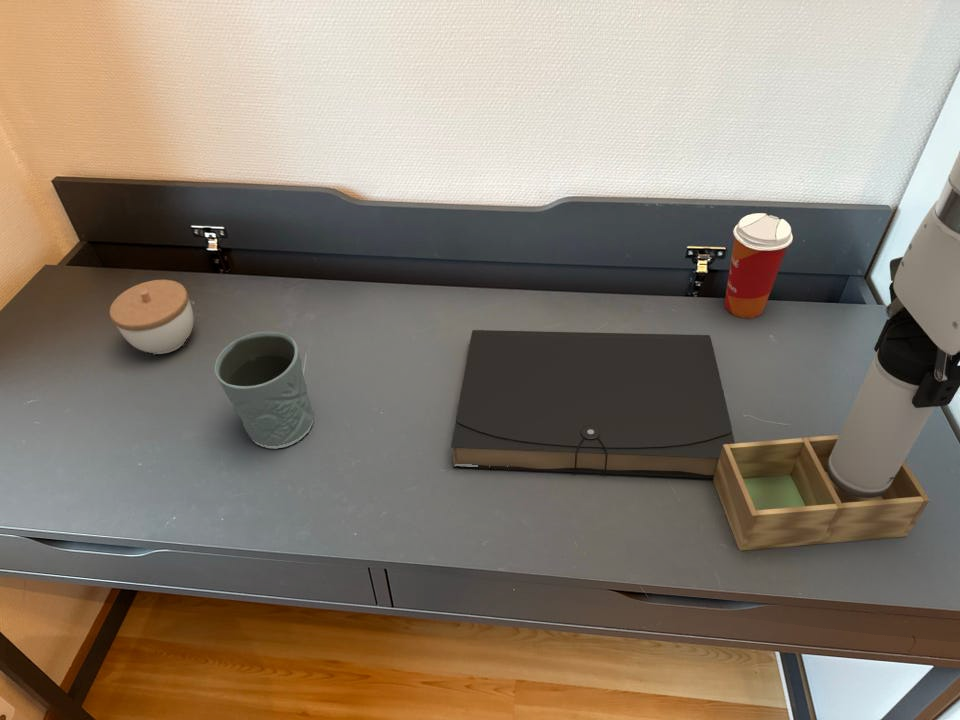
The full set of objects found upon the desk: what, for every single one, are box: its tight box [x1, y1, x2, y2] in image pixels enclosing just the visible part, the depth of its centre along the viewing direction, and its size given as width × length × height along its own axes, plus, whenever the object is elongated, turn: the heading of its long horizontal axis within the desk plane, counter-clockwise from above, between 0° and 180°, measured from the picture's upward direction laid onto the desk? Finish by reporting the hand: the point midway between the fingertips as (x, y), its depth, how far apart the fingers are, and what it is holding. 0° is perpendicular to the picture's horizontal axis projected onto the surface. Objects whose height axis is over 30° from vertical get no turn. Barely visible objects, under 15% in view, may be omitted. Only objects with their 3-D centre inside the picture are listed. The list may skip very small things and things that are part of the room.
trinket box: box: [109, 279, 195, 354], centre depth 103 cm, size 11×11×9 cm
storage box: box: [712, 434, 931, 552], centre depth 77 cm, size 18×9×7 cm, turn 94°
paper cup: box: [724, 212, 794, 319], centre depth 100 cm, size 8×8×14 cm
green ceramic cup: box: [213, 331, 314, 446], centre depth 89 cm, size 10×10×12 cm
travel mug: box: [826, 319, 960, 498], centre depth 69 cm, size 6×7×20 cm
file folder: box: [450, 329, 736, 479], centre depth 92 cm, size 33×4×24 cm
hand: (909, 375), depth 65 cm, fingers closed on travel mug, 6 cm apart
